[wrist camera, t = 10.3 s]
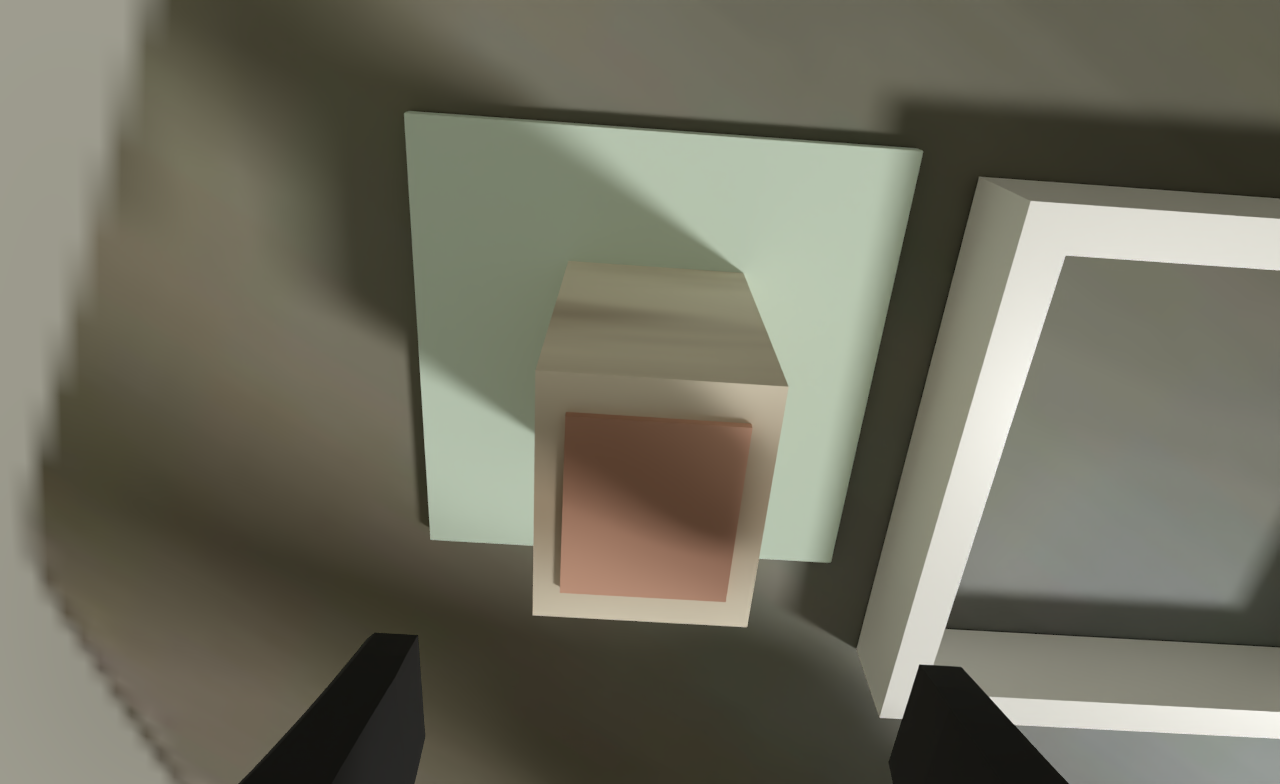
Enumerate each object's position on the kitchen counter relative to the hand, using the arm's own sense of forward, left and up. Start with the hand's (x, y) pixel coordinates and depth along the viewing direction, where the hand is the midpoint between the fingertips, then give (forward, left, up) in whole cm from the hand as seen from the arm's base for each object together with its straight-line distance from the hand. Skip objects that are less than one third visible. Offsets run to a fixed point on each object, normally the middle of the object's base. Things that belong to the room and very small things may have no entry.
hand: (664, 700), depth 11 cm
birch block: (+1, 0, -9) cm, 9 cm away
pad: (+1, 0, -9) cm, 9 cm away
